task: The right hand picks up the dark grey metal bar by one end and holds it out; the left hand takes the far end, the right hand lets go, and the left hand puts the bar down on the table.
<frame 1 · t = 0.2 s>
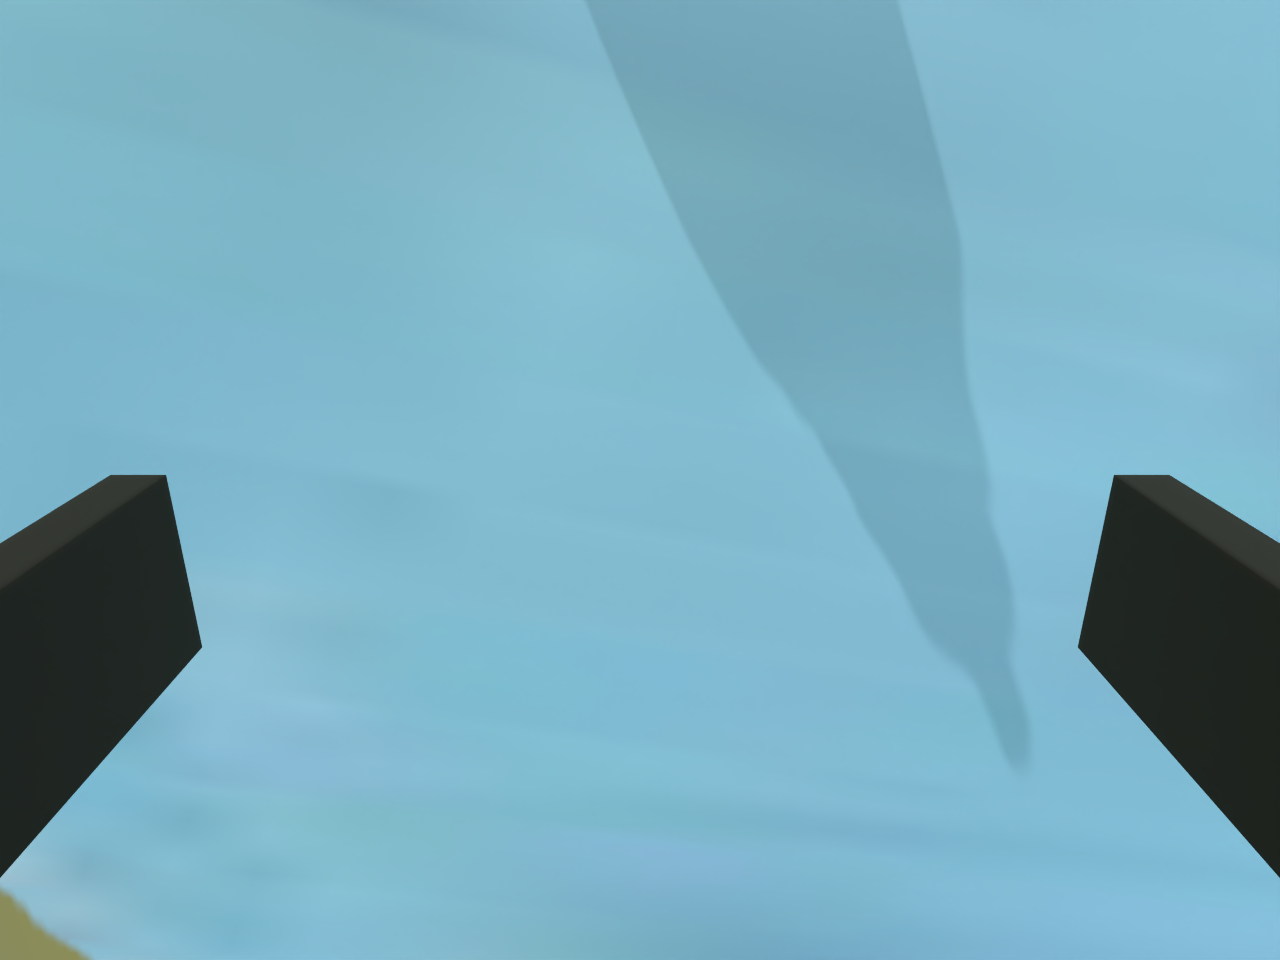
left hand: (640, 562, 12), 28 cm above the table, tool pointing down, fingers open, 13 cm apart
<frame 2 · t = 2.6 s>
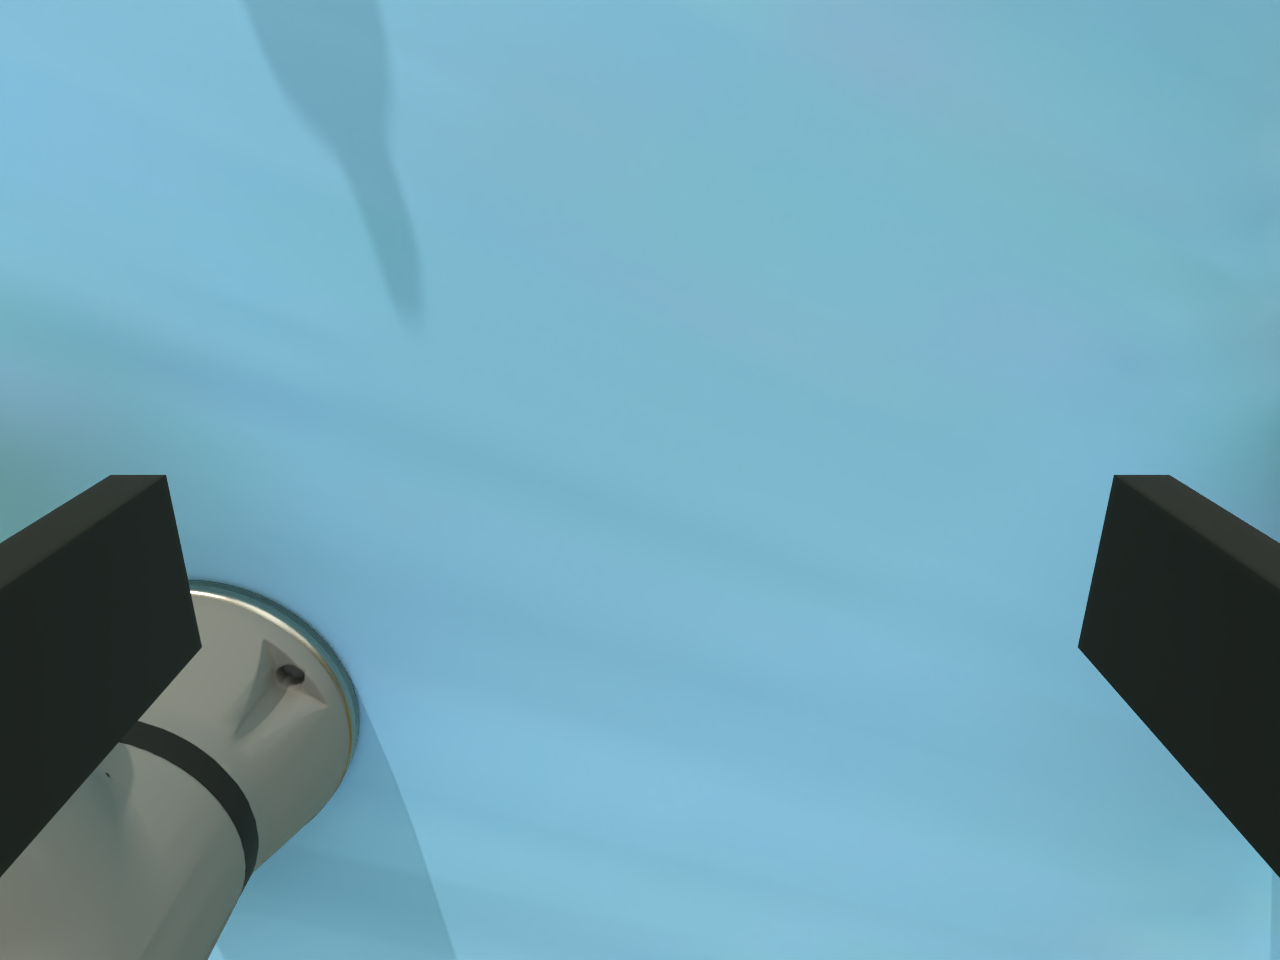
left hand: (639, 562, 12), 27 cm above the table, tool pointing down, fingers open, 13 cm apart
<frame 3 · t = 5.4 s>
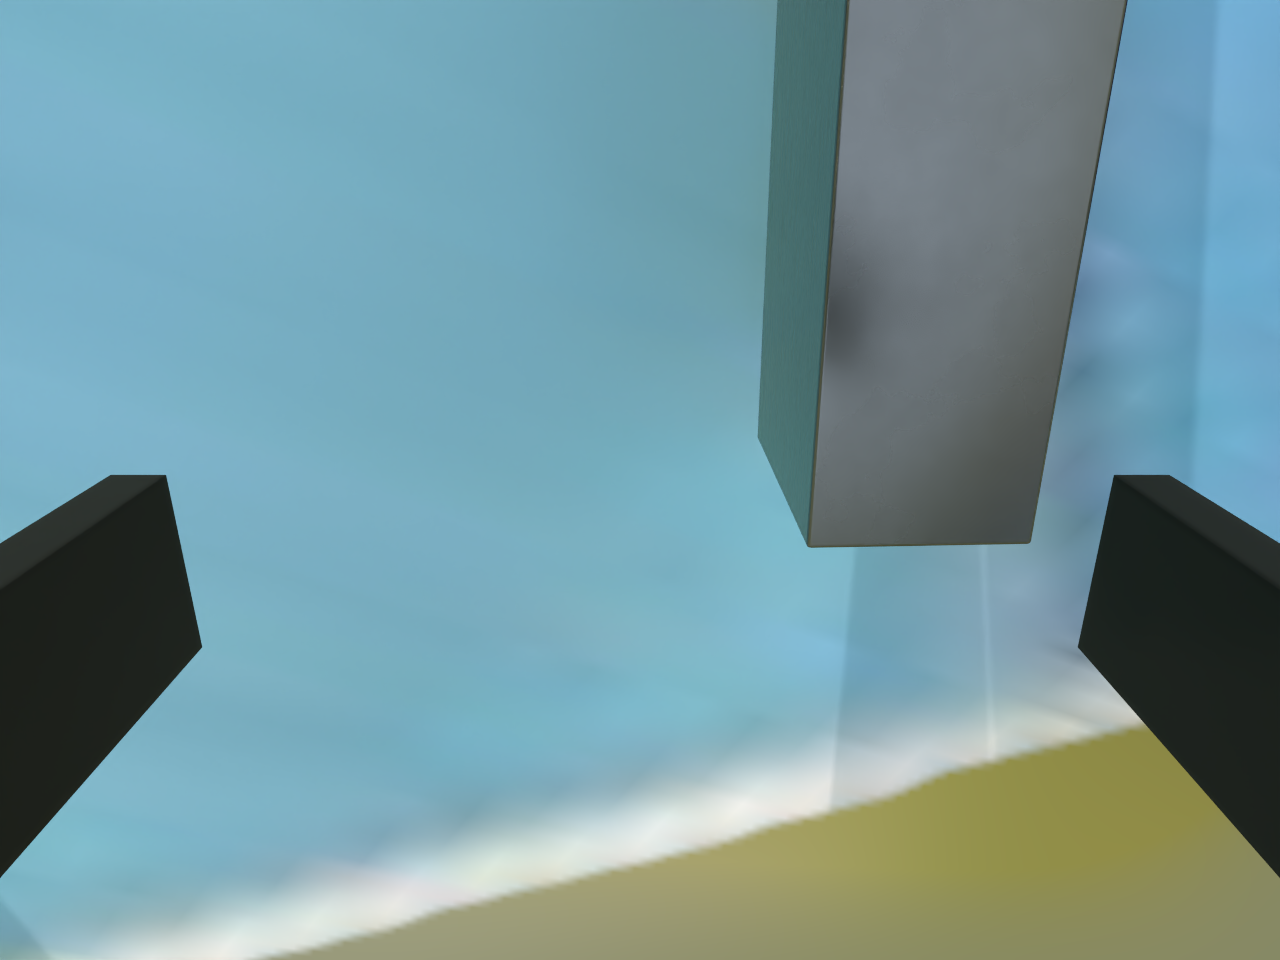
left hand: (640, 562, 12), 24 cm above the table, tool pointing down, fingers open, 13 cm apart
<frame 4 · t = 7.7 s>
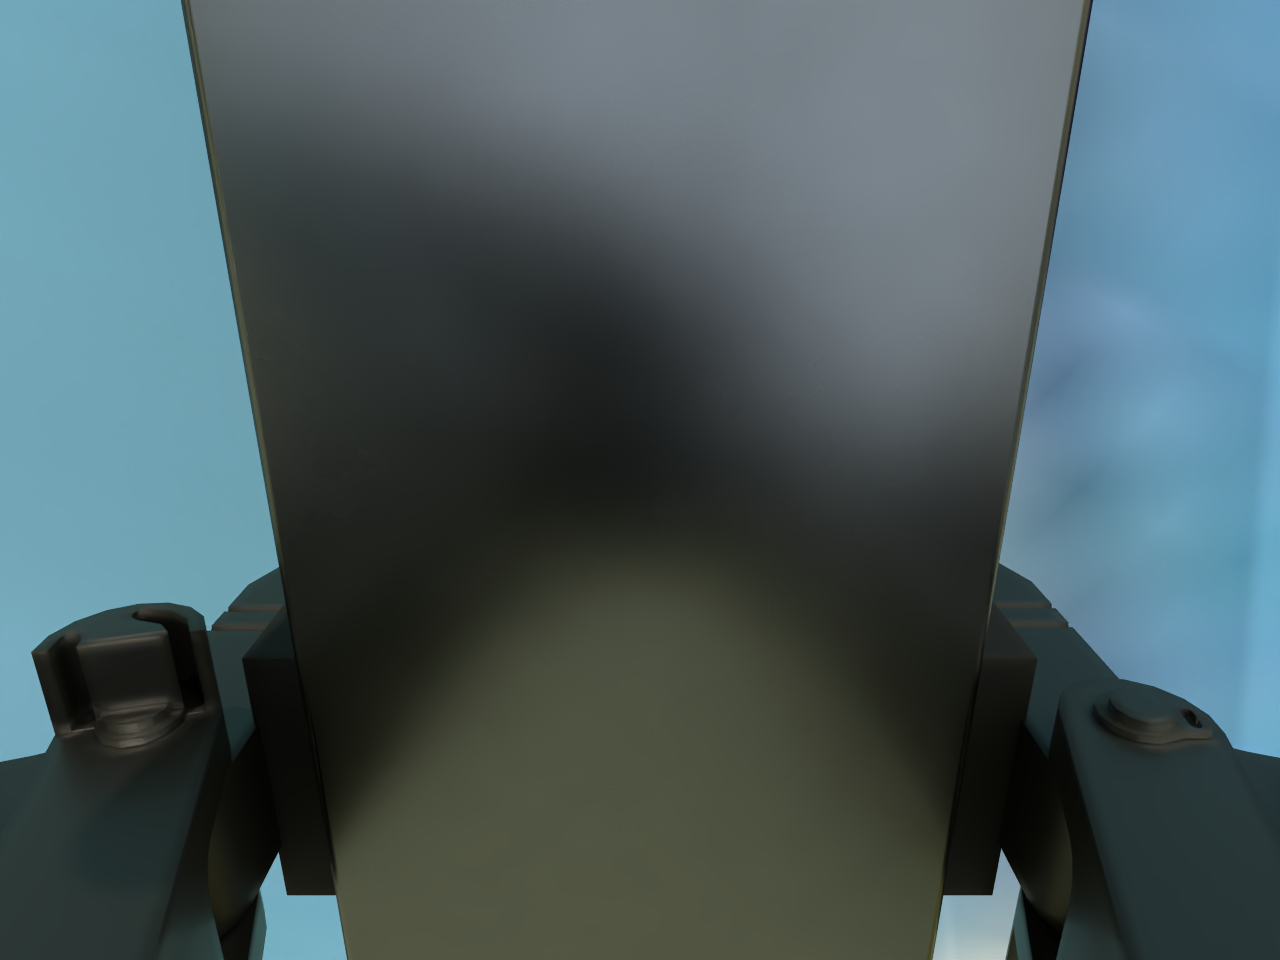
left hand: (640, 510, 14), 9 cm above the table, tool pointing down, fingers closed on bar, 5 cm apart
when the right hand's fingers open (12 cm above the table, at t = 8.6 s): bar stays where it is, held by the left hand.
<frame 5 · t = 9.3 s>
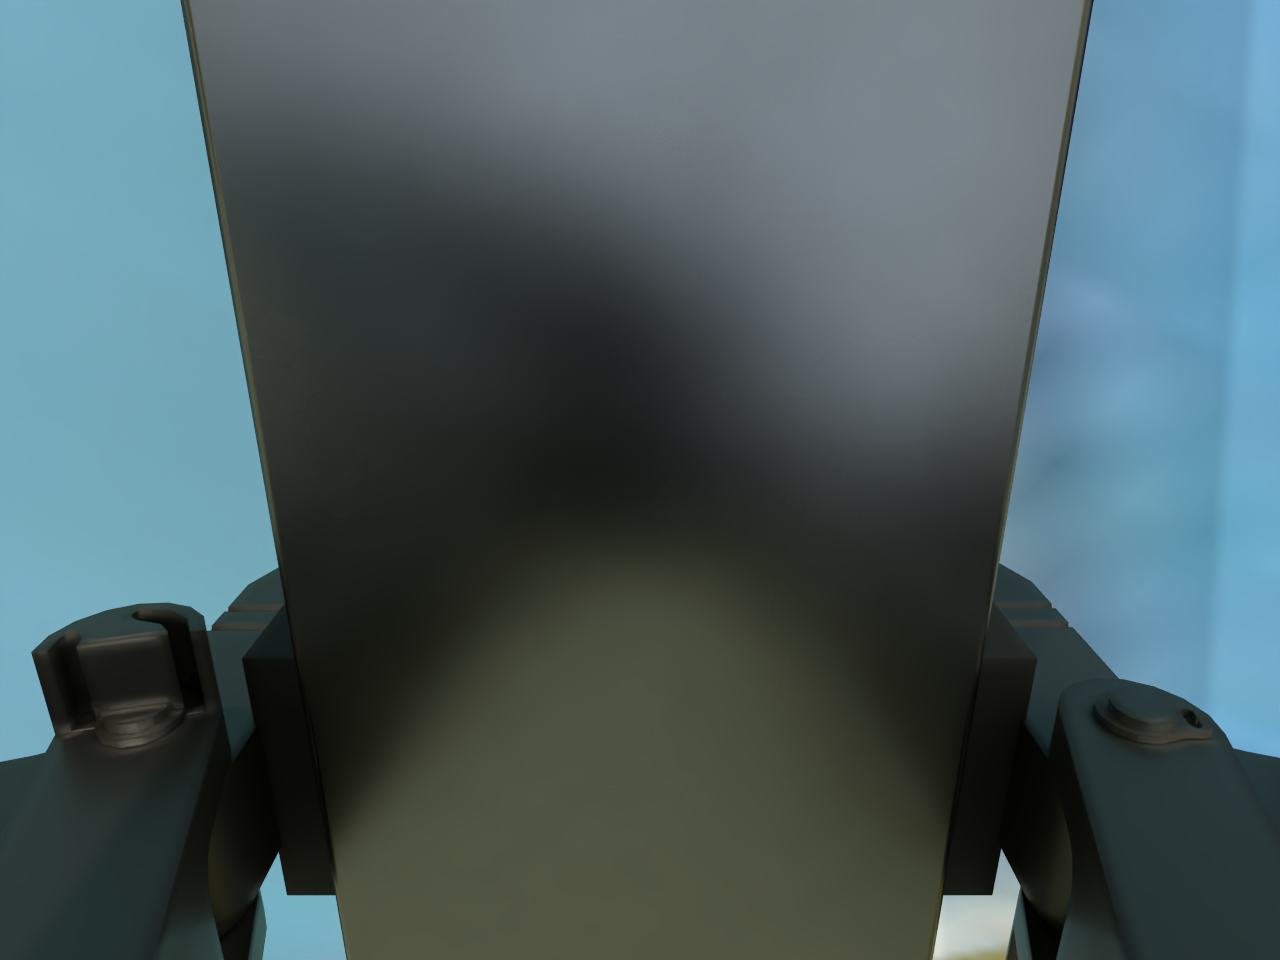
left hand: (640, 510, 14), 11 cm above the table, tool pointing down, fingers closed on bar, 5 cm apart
when the left hand's fingers open (2 cm above the table, at t = 19.1 s): bar drops 1 cm, on the table.
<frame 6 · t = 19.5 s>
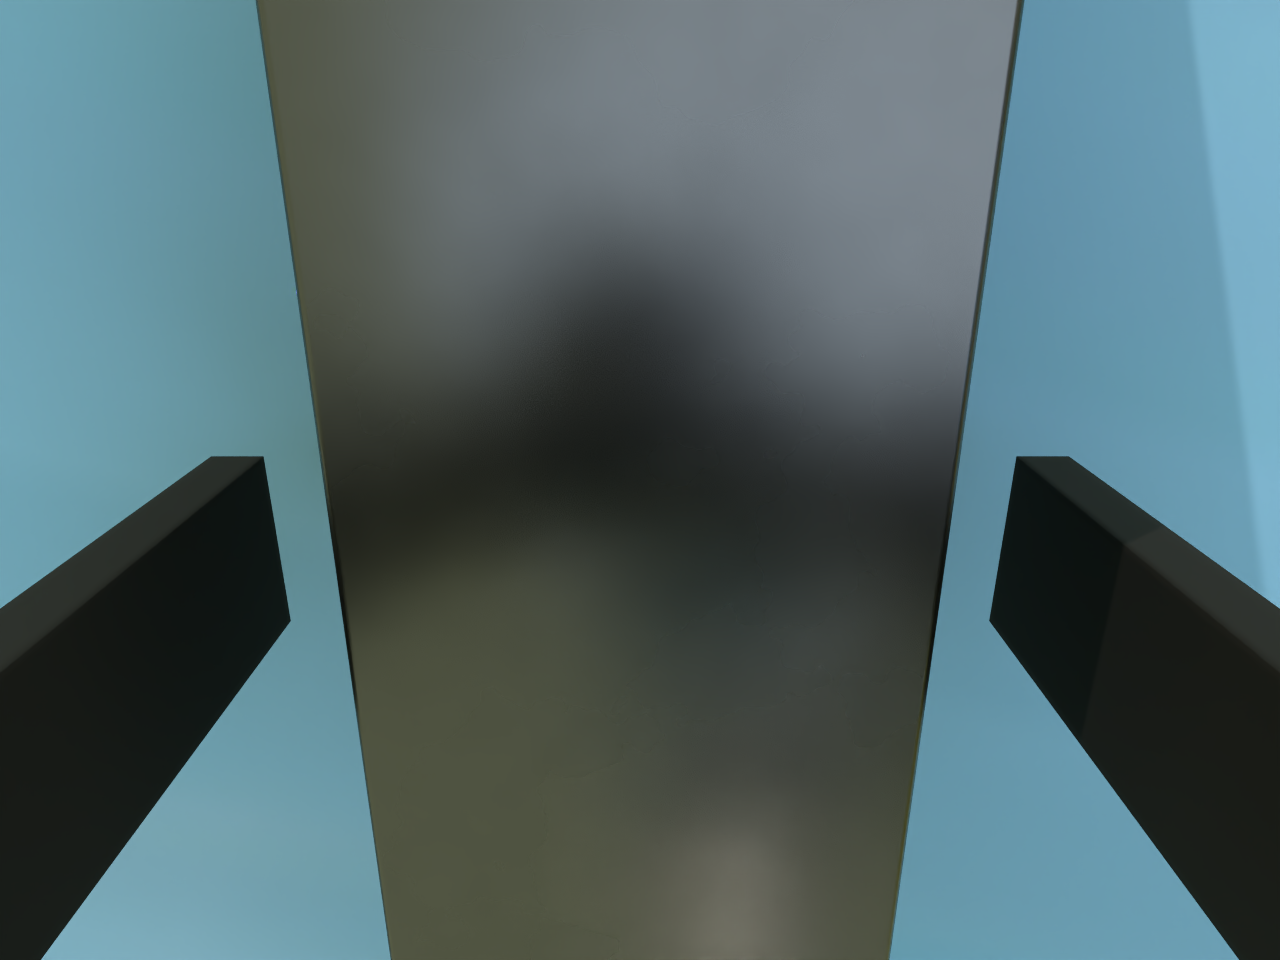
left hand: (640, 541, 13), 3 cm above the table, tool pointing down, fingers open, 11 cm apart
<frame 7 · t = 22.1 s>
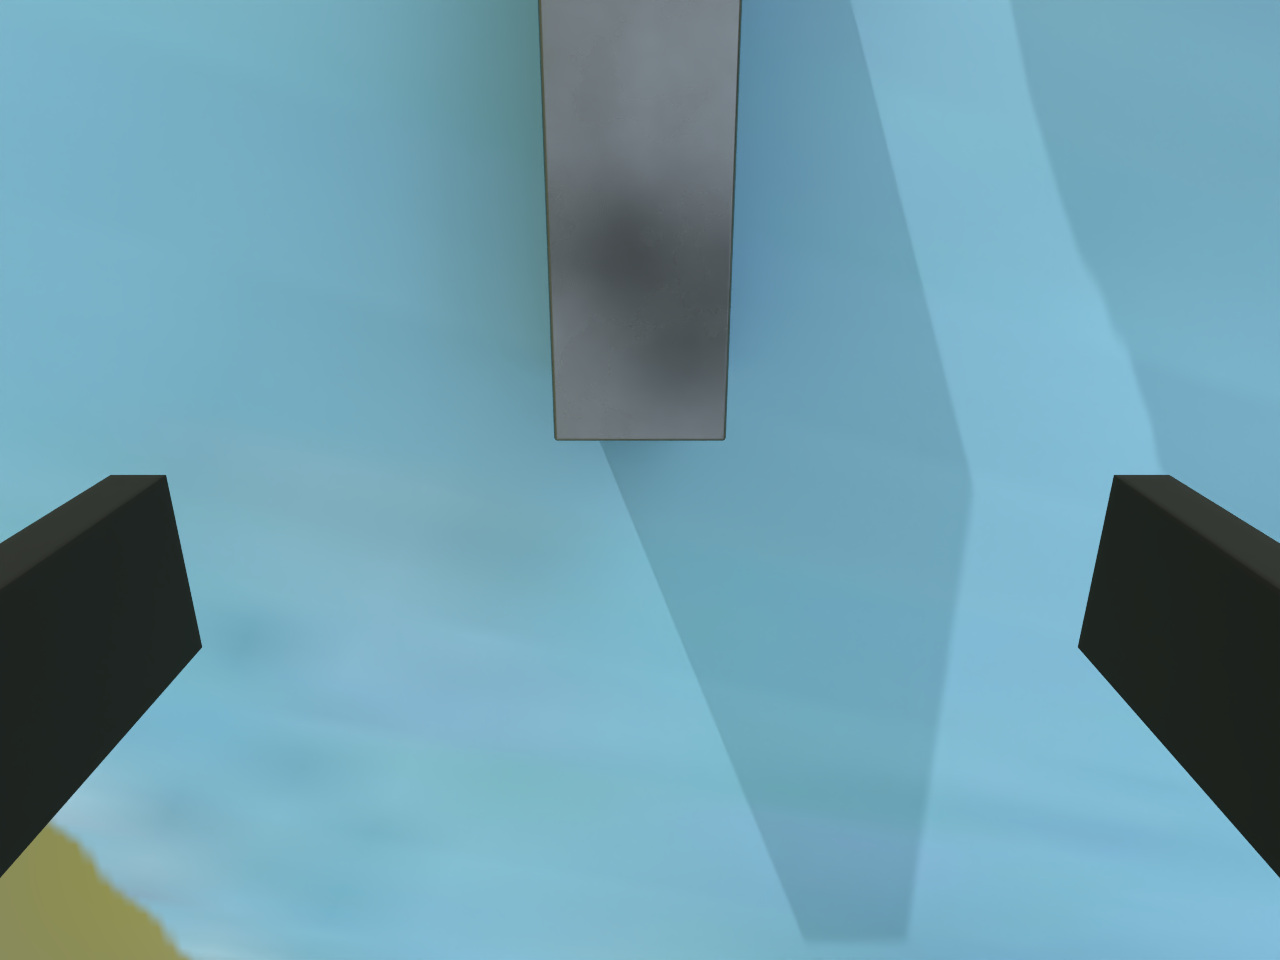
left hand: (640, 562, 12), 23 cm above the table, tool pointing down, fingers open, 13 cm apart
bar: (640, 16, 30), on the table
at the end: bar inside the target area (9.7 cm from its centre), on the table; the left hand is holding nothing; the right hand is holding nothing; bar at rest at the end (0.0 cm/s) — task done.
